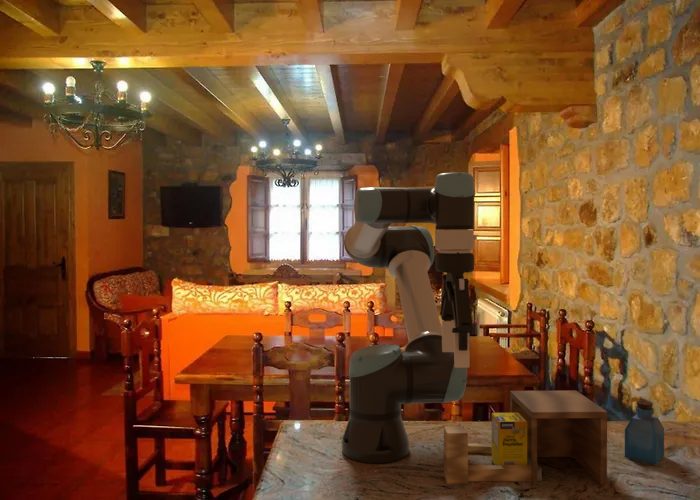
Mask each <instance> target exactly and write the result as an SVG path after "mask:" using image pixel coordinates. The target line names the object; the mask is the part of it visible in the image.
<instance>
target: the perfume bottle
mask: <svg viewBox="0 0 700 500" xmlns="http://www.w3.org/2000/svg"><path fill="white" fill-rule="evenodd" d="M653 403H654V402H652V401H649V400H643V399H641V400H640V399H639V400H636V406H635V412H636V414H635V415H634V416H632V417H631V419H630V420H629V422H628V423H627V425H626V426H625V428H624V458H625V457H626V458H625V459H629V458H630V460H634V461H638V462H641V463H646V464H650V465H654V466H657V465H658V463H660V462H661V460H662V459H664V457H665V428H664V426H663V424H662V422H661V421H660V419H659V418H658V417H657V416H653V415H654V414H655V412H654V411H655V410H654V408H653V405H654V404H653Z"/></svg>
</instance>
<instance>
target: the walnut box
mask: <svg viewBox="0 0 700 500" xmlns="http://www.w3.org/2000/svg"><path fill="white" fill-rule="evenodd" d="M509 397H510V398H509V400H510V401H509V413H519V414H520V415H521V416H522V417H523V418H524V419H525V420H526V421H527V452H528V453H529V454H530V455H531V457H532V481H531V484H532V486H535V485H536V486H537V485H538V481H537V464H538V458H540V457H543V458H545V457H547V458H549V457H550V458H551V457H562V458H563V457H572V458H573V459H574V460H576V462H577V463H578V464H579V465H580V466H582V468H583V469H584V470H586V471H587V472H588V473H589V474H590V476H592V477H593V478H594V479H595V480H596V481H597V483H598V484H600V485H608V481H607V480H608V411H607V410H605V409H604V408H603V407H601V406H600V405H598V404H597V403H595V402H594V401H592V400H591V399H589V398H588V397H586V396H585V395H583V394H582V393H580V391H578V390H576V389H575V390H569V389H568V390H510V391H509Z"/></svg>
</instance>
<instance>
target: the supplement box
mask: <svg viewBox="0 0 700 500" xmlns="http://www.w3.org/2000/svg"><path fill="white" fill-rule="evenodd" d="M491 445H492V454H491V465H527V421H526V420H525V419H524V418H523V417H522V416H521V415H520V414H519V413H510V412H492V413H491Z"/></svg>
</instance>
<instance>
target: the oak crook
mask: <svg viewBox="0 0 700 500" xmlns="http://www.w3.org/2000/svg"><path fill="white" fill-rule="evenodd" d="M468 443H469V433H468V431H467V429H466V428H465V426H464V425H459V426H458V425H456V426H455V425H454V426H453V425H448V426H447V425H446V426H445V425H444V426H443V476H444V479H445V482H446V483H447V485H463V484H464V485H467V484H469V482H532V457H531V455H530V454H529V453H528V452H527V465H493V464H491V465H487V464H485V465H484V464H483V465H477V464H476V465H469V455H468V454H469V452H468ZM542 469H543V468H542V467H541V466H540V465H539V464H538V463H537V482H540V481H541V482H542V481H543V479H542V476H543V475H542Z"/></svg>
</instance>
